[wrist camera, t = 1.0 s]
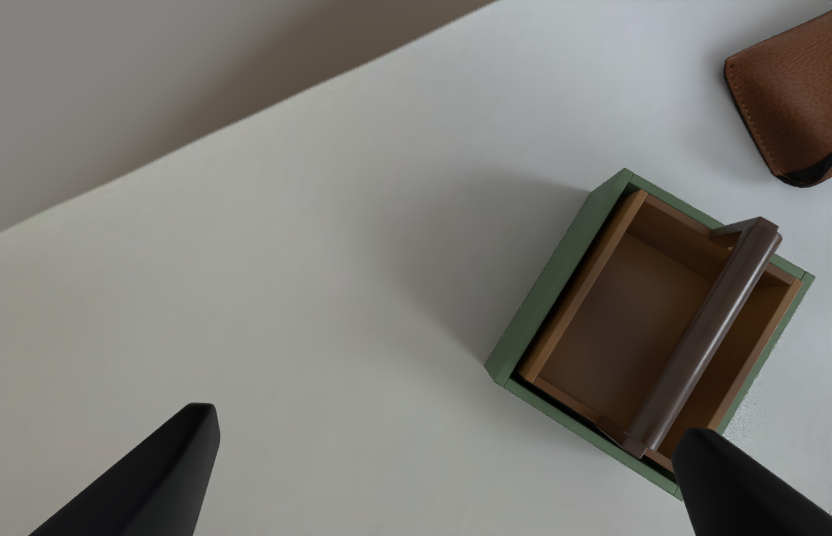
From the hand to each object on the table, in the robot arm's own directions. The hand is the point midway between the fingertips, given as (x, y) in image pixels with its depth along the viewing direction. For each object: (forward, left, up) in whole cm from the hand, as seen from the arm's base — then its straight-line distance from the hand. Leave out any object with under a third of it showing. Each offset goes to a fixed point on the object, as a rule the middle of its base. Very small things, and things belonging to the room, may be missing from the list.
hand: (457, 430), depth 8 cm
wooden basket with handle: (-5, -8, -16) cm, 18 cm away
